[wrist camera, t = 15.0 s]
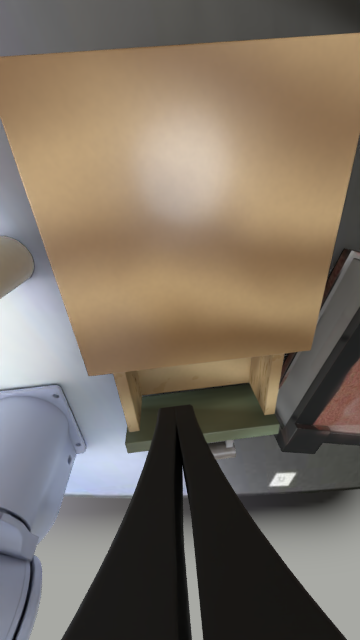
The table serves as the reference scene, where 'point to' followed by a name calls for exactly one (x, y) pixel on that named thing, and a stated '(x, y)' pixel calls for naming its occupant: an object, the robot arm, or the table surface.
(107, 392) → the table surface
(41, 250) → the table surface
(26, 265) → the glue stick
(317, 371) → the book
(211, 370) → the drawer
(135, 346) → the cabinet
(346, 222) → the table surface
